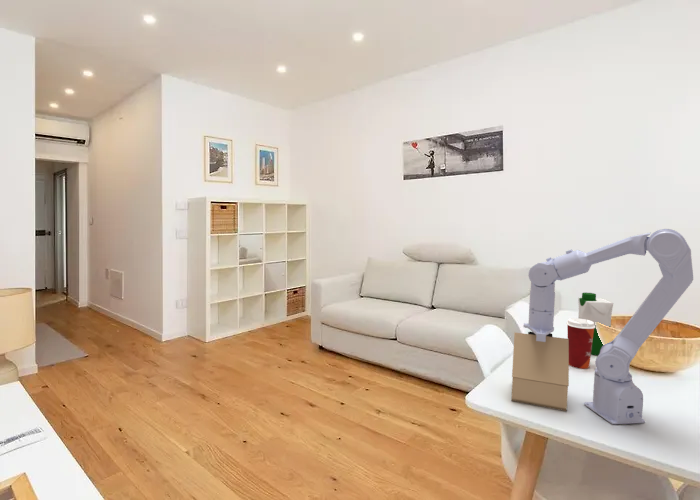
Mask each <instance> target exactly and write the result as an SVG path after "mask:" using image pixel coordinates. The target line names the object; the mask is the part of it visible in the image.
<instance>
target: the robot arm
mask: <svg viewBox="0 0 700 500" xmlns="http://www.w3.org/2000/svg"><path fill="white" fill-rule="evenodd" d="M647 251H648V253H649V254H650V256H651V257H652V258H653V259H654V260H655V261H656V263H658V266H659V270H660V272H661V275H662V277H661V278H660V279H659V281H658V282H657V284H655V286H654V287H653V289H652V290H651V292H649V294H648V295H647V296H646V298H645V299H644V300H643V302H642V303H641V304H640V306H639V307H638V309H636V311H635V312H634V314H633V315H632V316H631V318H630V319H629V320H628V321H627V323H626V324H625V325H624V326H623V328H622V329H621V331H619V333H618V334H617V335H615V337H614V338H613V340H611V341H610V342H609V343H607V344H605V345H603V346H602V348H601V350H600V354H599V355H597V357H596V358H595V362H594V363H595V367H596V368H595V369H594V373H593V374H594V377H593V378H594V379H593V390H592V392H593V395H592V401H585V402H583V405H584V406H586V407H587V408H588V409H590V410H591V411H593V412H594V413H595V414H597V415H598V416H600V417H601V418H603V419H604V420H606V421H607V422H608V423H610V424H612V425H621V424H622V425H624V424H625V425H626V424H644V423H646V420H645V419H643V406H644V405H643V404H644V394H643V391H642V390H641V389H640V387H638V386H636V385H635V383H634V381H633V375H632V374H631V373H630V365H631V362H632V361H633V359H634V358H635V356H636V355H637V353H638V352H639V349H640V348H641V347H642V345H643V344H644V343H645V342H646V341H647V340H648V338H649V337H650V336H651V334H652V333H653V331H654V330H655V329H656V328H657V327H658V326H659V325H660V324H661V321H662V320H664V319H665V317H666V315H667V314H668V313H669V312H670V310H672V308H673V307H674V305H675V304H676V303H677V301H679V299H680V298H681V297H682V296H683V294H684V293H685V292H686V291H687V290H688V288H689V287H690V286H691V284H692V283H693V281H694V270H693V260H692V259H693V258H692V249H691V247H690V246H689V243H688V242H687V240H686V238H685V237H684V236H683V235H682V234H681V233H680V232H678V231H677V230H675V229H670V228H663V229H659V230H658V229H657V230H655V231H654V232H653V233H652V232H645V233H640V234H637V235H632V236H628V237H625V238H622V239H620V240H617V241H614V242H612V243H610V244H609V243H608V244H606V245H603V246H601V247H597V248H596V249H595V248H594V249H593V250H591V251H587V252H585V251H582V250H579V249H576V250H573V249H568V250H566V251H565V253H564V254H560V255H558V256H556V257H553V258H552V257H548V258H546V259H545V260H546V261H541V262H537V263H536V264H534V265H533V266H531V268H530V269H529V271H528V279H529V281H530V290H529V304H528V305H529V306H528V323H527V322H526V323H525V322H524V323H523V326H522V327H523V328H525V329H528V330H530V331H527V334H532V335H536V341H541V342H542V341H543V342H546V336H549V337H554V336H553V334H552V333H553V332H554V330H555V327H554V320H555V301H556V299H555V298H556V291H555V290H556V289H555V288H556V281H564V280H567V279H570V278H573V277H576V276H579V275H583V274H586V273H588V272H589V271H590V269H591V267H592V265H595V264H599V263H602V262H605V261H609V260H612V259H617V258H619V257H623V256H626V255H636V256H646V255H647V254H646V253H647Z"/></svg>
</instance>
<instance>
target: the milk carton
mask: <svg viewBox="0 0 700 500" xmlns="http://www.w3.org/2000/svg"><path fill="white" fill-rule="evenodd" d="M577 299H578V301H577V304H578V318H579V319H586V320H590V321H593V322H594V325H595V322H599V323H601V324H604V325H606V326H609V327H611V325H612V313H613V308H614V302H612V301H609V300H607V299H605V298H602V297H601V298H600V297H597V294H596V293H593V292H582V293H581V296H579V297H578V298H577ZM602 346H603V344H602V342H601V340H600V338H599V336H598V333H597V329H596V325H595V328H594V333H593V341H592V349H591V356H598V355H599V354H600V350H601V348H602Z"/></svg>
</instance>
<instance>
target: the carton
mask: <svg viewBox="0 0 700 500" xmlns="http://www.w3.org/2000/svg"><path fill="white" fill-rule="evenodd" d="M511 378H512V380H511V384H512V385H511V402H515V403H521V404H524V405H525V404H526V405H532V406H537V407H543V408H547V409H553V410H556V411H557V410H558V411H563V412H567V411H568V410H567V409H568V392H569V391H568V390H569V386H564V385H557V384H551V383H545V382H539V381H533V380H527V379H520V378H514V377H511Z"/></svg>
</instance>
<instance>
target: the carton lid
mask: <svg viewBox="0 0 700 500" xmlns="http://www.w3.org/2000/svg"><path fill="white" fill-rule="evenodd" d="M513 334H514V338H513V351H512V353H513V354H512V372H511V378H513V377H514V378H520V379H527V380H533V381H539V382H545V383H551V384H557V385H564V386H568V387H569V386H570V381H569V380H570V378H569V377H570V375H569V374H570V373H569V371H570V368H569V366H570V365H569V339H568V338H564V337H557V336H556V337H555V336H553V337H549V336H546V342H543V341H542V342H541V341H536V335H532V334H528V333H522V332H515V331H514V333H513Z"/></svg>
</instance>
